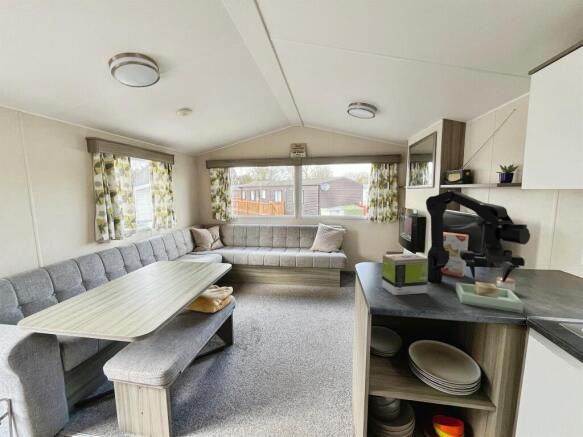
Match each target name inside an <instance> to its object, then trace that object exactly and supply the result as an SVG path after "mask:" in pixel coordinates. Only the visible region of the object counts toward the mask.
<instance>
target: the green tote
mask: <svg viewBox="0 0 583 437" xmlns="http://www.w3.org/2000/svg"><path fill="white" fill-rule="evenodd" d="M498 289H499V291H498V298H492V297H485V296H479V295H475V294H474V292H475V284H470V283H463V282H455V292H456V295H457V297H458V300H459V302H460V303H461V304H465V305H471V306H478V307H483V308H488V309H489V308H490V309H495V310H500V311H501V310H502V311H507V312H515V313H520V314H524V306H525V303H524V302H523V301H522V300H521V299H520V298H519V297H518V296H517V295H516V294H515V292H514V293H513V292H512V291H511V290H508V289H501V288H498Z"/></svg>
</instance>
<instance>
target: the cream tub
mask: <svg viewBox="0 0 583 437" xmlns="http://www.w3.org/2000/svg"><path fill="white" fill-rule="evenodd" d="M516 283H517V282H516V279H513V278H509V277H507V279H506V280H505V282H503V281H502V276H498V277H496V284H495V286H496V287H497V288H501V289H508V290H511V291H512V292H513V293H514V294H515V290H516Z"/></svg>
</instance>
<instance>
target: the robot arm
mask: <svg viewBox="0 0 583 437" xmlns="http://www.w3.org/2000/svg"><path fill="white" fill-rule="evenodd" d="M453 202H454V203H456V204H458V205H460V206H462V207H464V208H467V209H469V210H470V211H473V212H474V213H475V214H476V215H477V216H478V217H479V218H480V219H482V221H481V222H479V223H477V227H483V229H482V237H481V238H482V239H481V250H480V253H474V252H473V251H472V250H467V251H464V250H462V251H460V258H461V259H462V260H464V261H465V262H466V264H467V265H468V267H469V269H470V273H471V276H472V278H473V279H475V278H476V277H475V276H476V268H475V267H476V266H475V264H476V261H474V260H486V262H487V263H489V264H493V263H494V264H499V265H503V270H502V276H501V277H502V281H503V282H505V280H506V279H507V278H509V275H510V274H511V273H512V272H513V270H515V269H518V268H520V267H525V263H526V260H525V258H524V257H522V256H520V255H519V254H518V255H517V254H513V251H512V250H510V249H504V250H503V244H502V242H505V243H512V244H518V245H527V244H528V243H529V241H530V240H531V233H530V230H529V228H528V225H527V224H523V223H522V224H521V223H520V224H518V223H517V224H516V223H514V221H513V219H511V217H510V215H509V214H508V211H507V208H506V207H504V206H502V205H497V204H494V203H493V204H492V203H487V202H483V201H480V200H478V199H476V198H474V197H471V196H468V195H467V194H465V193H462V192H460V191H459V190H448V191H445V192H443V193H440V194H437V195H431V196H429V197H428V198H427V199H426V201H425V205H426V207H425V208H426V211H427V212H428V214H429V215H430V238H431V240H430V243H431V244H430V245H431V246H430V248H429V250H428V251H427V257H426V258H427V259H428V282H431V283H436V284H437V283H439V284H442V281H443V274H444V273H443V272H442V271H441V268H444V267H445V265H446V264H447V263H448V261H449V260H450V258H449V251H446V250H445V248H444V241H443V232H444V214H445V212H446V211H447V207H448V205H450V204H451V203H453Z"/></svg>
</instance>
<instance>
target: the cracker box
mask: <svg viewBox="0 0 583 437" xmlns="http://www.w3.org/2000/svg"><path fill="white" fill-rule="evenodd" d="M443 241H444V248H445V250H446V251H449V258H450V260H449V261H448V263H447V264H446V265H445V267H444V268H441V271H442V272H443V273H442V274H445V275H448V276H449V275H450V276H452V277H453V276H454V277H458V278H464V276H465V275H466V272H467V271H466V268H467V262H465V261H464V260H462V259H461V258H460V251H462V250H464V251H468V247H469V234H463V233H462V234H461V233H454V232H445V231H443Z"/></svg>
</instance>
